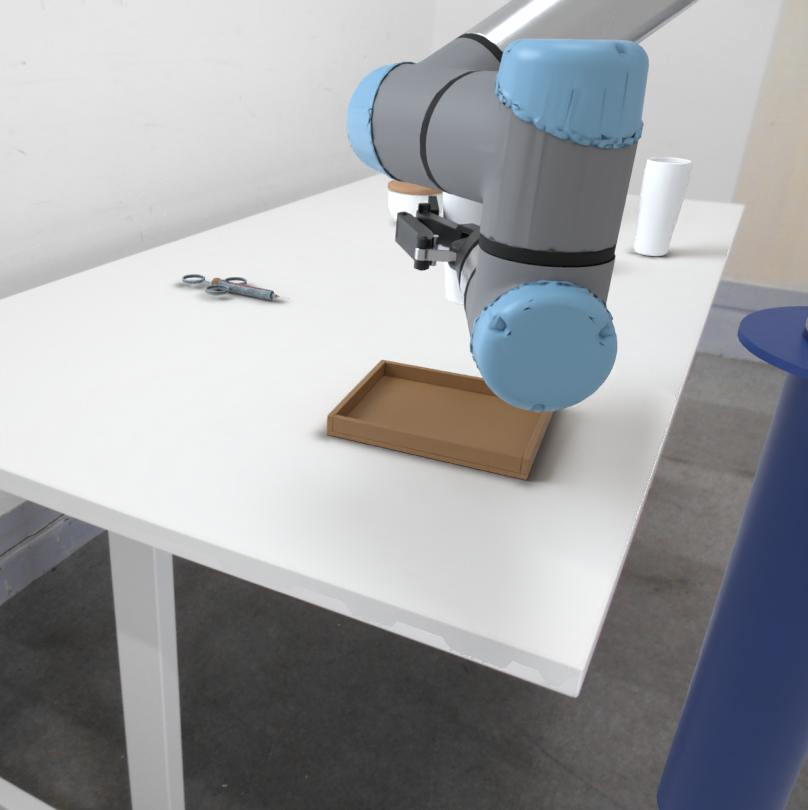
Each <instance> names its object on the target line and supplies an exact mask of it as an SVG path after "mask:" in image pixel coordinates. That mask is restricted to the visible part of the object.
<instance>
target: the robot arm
mask: <svg viewBox="0 0 808 810" xmlns="http://www.w3.org/2000/svg"><path fill="white" fill-rule="evenodd" d="M698 2H700V0H510V1H508V2H506V3H505V4H504V5H503V6H500V7H499V8H498V9H496V10H495V11H494V12H493V13H491V14H490V15H488V16H487V17H485V18H484V19H482V20H481V21H479V22H477V23H476V24H475V25H474V26H472V27H471V28H468V29H467V30H466V31H465V32H463V33H462V34H460V35H459V36H457V37H455V38H453V40H451V41H449V42H448V43H446V44H445V45H444V46H442V47H440V48H439V49H438V50H436V51H434V52H433V53H431V54H430V55H428V56H427V57H425V58H424V59H422V60H420V61H419V62H413V61H400V62H396V63H395V62H394V63H391V64H385V65H382V66H379V67H377V68H375V69H373V70H371V72H368V74H366V75H365V76H364V77H363V78H362V79H361V81H360V82H359V83H358V84H357V86H356V88H354V91H353V93H352V95H351V98H350V99H349V103H348V106H347V112H346V119H345V121H346V123H345V125H346V127H345V128H346V134H347V138H348V140H349V144H350V145H349V147H350V148H351V149H352V151H353V153H354V154H355V156H356V157H357V159H358V160H359V161H360V162H361V163H362V164H364V165H365V166H366V167H368V168H370V169H372V170H374V171H376V172H378V173H380V174H383V175H385V176H386V177H388V178H389V179H390V180H396V181H399V182H408V183H412V184H416V185H419V186H423V187H427V188H431V189H434V190H438V191H442V192H445V193H448V194H452V195H455V196H458V197H462V198H465V199H468V200H472V201H475V202H478V203H481V204H483V208H482V216H481V225H480V226H479V225H476V224H473V223H469V224H458V223H455V222H453V221H450V220H448V219H445V218H443V216H440V215H439V205H438V200H437V196H429V197H428V203H419V204H418V210H417V211H416V217H414V216H413V215H412V214H410V213H407V212H404V211H403V212H399V213H397V221H395V222H396V223H395V235H394V242H395V243H396V244H398V246H399V247H400V248H401V249H402V250H403V251H404V252H405V253H406V254H407V255H408V256H409V257H410V258H411V259H412V260H413V269H415V270H418V271H421V272H422V271H426V270H429V269H430V267H436V266H437V262H443V263H445V262H448V265H449V266H450V268H452V269H453V270H455V271H456V272H457V278H458V283H459V287H460V292H461V295H462V300H463V305H464V306H463V305H462V306H463V310H464V312H465V317H466V322H467V328H468V333H469V352H470V354H472V355H471V357H472V360H473V362H474V364H475V365H476V368H477V369H478V371H479V373H480V376H481V378H483V380H484V381H485V383H486V384H487V386H488V387H489V388H490V389H491V390H492V391H493V393H494V394H495V395H497V396H498V397H499V398H500V399H502V400H503V401H505V402H506V403H508V404H510V405H512V406H515V407H517V408H520V409H524V410H529V411H534V412H550V411H554V412H555V411H560V410H564V409H567V408H571V407H574V406H577V405H578V404H580V403H581V402H583V401H584V400H587V399H588V398H589V397H591V396H592V395H594V394H595V393H596V392H597V391H598V390H599V389H600V388H601V386H603V384H604V383H605V382H606V380H607V379H608V377H609V376H610V374H611V372H612V370H613V368H614V366H615V363H616V359H617V354H618V337H617V336H618V335H617V332H616V328H615V325H614V322H613V320H614V317H613V315H612V313H611V312H610V310H609V308H608V306H607V302H608V298H609V297H608V296H609V293H610V292H609V291H610V286H611V282H612V276H613V272H614V268H615V262H616V258H617V257H616V249H617V244H618V239H619V235H620V230H621V224H622V221H623V215H624V211H625V207H626V202H627V197H628V192H629V188H630V182H631V178H632V174H633V169H634V164H635V159H636V154H637V149H638V145H639V140H640V139H641V138H642V135H643V129H644V126H645V125H644V121H643V113H644V112H643V111H644V104H645V98H646V90H647V83H648V77H649V69H650V59H649V54H648V53H647V52H646V50H645V49H644V48H643V46H642V45H640V43H642V42H643V41H645V40H646V39H648V38H649V37H650V36H652V35H653V34H654V33H656V32H658V31H659V30H660V29H662V28H663V27H664V26H665V25H668V23H670V22H672V21H673V20H674V19H675V18H677V17H679V16H680V15H682V14H683V13H684V12H685V11H687V10H688V9H690V8H691V7H693V6H694V5H695V4H697V3H698ZM803 336H804V338H805V339H806V340H807V341H808V317H807V320H806V323H805V327H804V330H803Z"/></svg>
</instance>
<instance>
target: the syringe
mask: <svg viewBox="0 0 808 810" xmlns="http://www.w3.org/2000/svg"><path fill="white" fill-rule="evenodd" d="M195 278H196V280H194V279H195ZM181 281H182V283H184V284H187V285H198V284H202V283H208V284H210V285H208V286H206V287H205V288H204V289H205V290H204V292H205V293H206V294H207V295H210V296H211V295H212V296H222V295H226V294H228V293H235V294H240V295H245V296H250V297H254V298H260V299H263V300H268V301H272V300H273V299H276V298H282V299H285V297H283V296H280V295H278V294H277V293H275V291H274V290H272V289H268V288H263V287H259V286H258V287H257V286H253V285H249V284H248V280H247V279H246V278H245V277H241V276H231V277H227V278H224V279H223V278H220V277H214V278H213V279H212V280H211V281H209V280H208V281H207V280H206V277H205V276H204V275H203V274H197V273H191V274H186V275H183V276H182V278H181ZM235 281H238V282H235ZM286 299H287V300H289V298H288V297H286Z"/></svg>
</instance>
